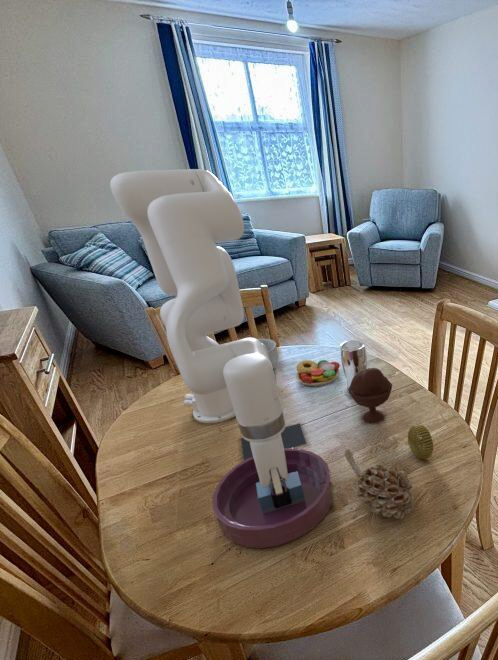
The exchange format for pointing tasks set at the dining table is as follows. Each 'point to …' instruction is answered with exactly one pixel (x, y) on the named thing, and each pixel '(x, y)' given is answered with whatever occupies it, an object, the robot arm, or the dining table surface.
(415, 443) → the sculpture
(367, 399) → the ice cream bowl
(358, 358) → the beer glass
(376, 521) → the dining table surface
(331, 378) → the toy food set
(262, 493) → the block
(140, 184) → the robot arm
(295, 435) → the rubber mat
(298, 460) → the serving bowl
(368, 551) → the dining table surface
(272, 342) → the teacup
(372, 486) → the pine cone
